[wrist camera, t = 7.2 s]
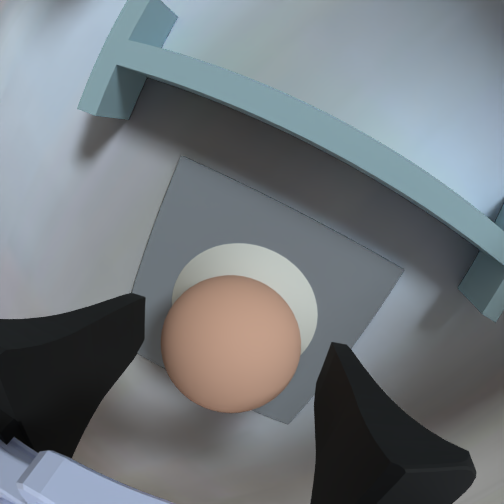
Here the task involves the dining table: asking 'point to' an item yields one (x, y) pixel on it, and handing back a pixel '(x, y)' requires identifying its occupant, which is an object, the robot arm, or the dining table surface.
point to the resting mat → (260, 268)
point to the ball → (230, 344)
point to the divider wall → (292, 122)
